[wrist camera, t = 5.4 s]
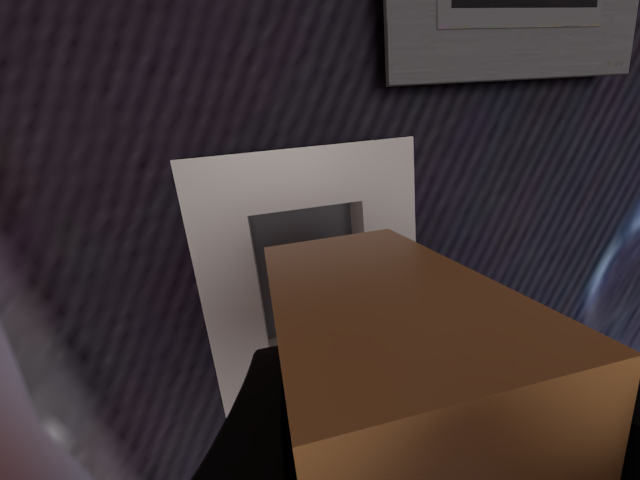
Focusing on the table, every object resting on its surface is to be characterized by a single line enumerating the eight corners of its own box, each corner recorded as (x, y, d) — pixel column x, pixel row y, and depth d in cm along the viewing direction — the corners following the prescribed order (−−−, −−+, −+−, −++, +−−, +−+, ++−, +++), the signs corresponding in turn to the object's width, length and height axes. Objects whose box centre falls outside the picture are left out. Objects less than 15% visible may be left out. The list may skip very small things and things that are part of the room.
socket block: (398, 345, 19) (418, 372, 17) (229, 383, 18) (226, 417, 15) (389, 140, 16) (413, 136, 14) (183, 160, 14) (169, 160, 12)
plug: (395, 385, 12) (582, 675, 5) (288, 411, 11) (344, 787, 4) (388, 228, 10) (644, 355, 4) (263, 247, 10) (292, 448, 3)
